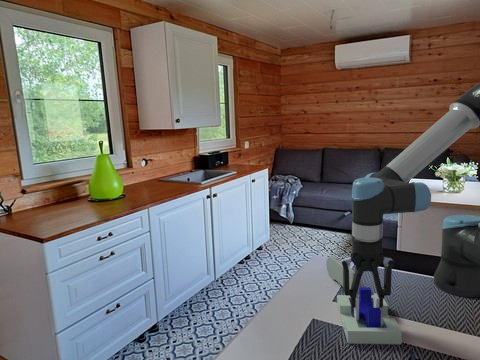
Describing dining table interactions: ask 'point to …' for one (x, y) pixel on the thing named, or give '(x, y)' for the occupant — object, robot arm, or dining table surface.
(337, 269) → the slide sandal
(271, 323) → the dining table surface
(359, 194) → the robot arm
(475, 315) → the dining table surface
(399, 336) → the holder
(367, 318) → the cable clip
